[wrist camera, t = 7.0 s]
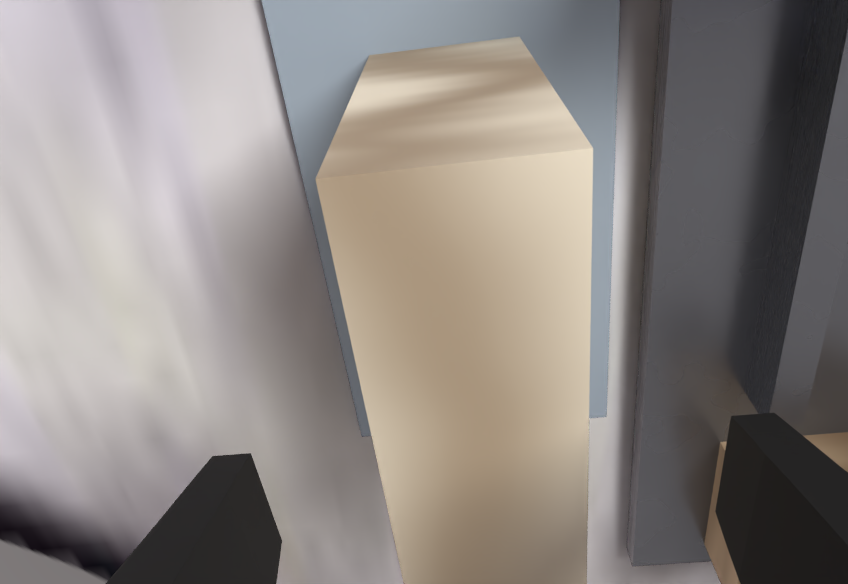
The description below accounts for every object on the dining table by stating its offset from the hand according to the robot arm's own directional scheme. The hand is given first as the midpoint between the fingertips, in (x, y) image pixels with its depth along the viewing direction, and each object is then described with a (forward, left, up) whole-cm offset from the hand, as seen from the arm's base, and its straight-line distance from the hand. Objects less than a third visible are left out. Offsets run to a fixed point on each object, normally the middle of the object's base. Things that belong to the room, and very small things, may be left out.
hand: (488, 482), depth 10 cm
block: (0, 0, -9) cm, 9 cm away
